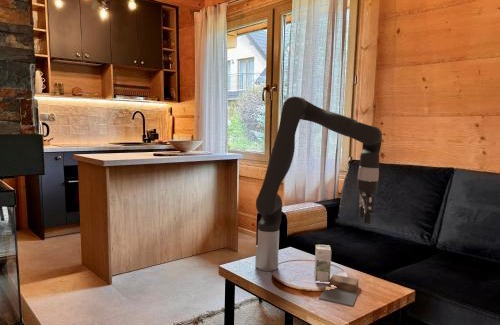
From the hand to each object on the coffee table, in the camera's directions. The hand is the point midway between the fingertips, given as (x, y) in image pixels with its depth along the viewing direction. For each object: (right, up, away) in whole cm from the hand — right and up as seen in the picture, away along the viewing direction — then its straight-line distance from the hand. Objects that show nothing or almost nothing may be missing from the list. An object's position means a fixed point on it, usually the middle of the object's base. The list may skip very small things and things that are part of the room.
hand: (364, 220), depth 142 cm
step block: (-8, -26, +2) cm, 27 cm away
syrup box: (-15, -26, +6) cm, 31 cm away
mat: (-11, -27, -6) cm, 30 cm away
